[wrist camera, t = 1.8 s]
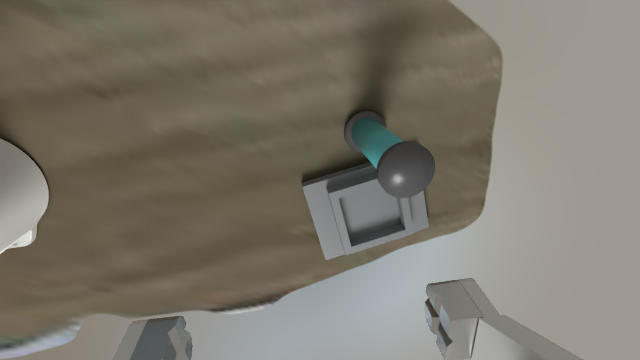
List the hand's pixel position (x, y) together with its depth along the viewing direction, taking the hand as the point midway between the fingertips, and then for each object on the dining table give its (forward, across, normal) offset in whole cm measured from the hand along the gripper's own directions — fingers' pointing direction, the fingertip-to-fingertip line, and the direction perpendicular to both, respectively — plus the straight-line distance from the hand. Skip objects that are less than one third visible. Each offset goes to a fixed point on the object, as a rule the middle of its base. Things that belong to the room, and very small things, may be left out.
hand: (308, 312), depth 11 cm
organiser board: (+38, +10, -19) cm, 43 cm away
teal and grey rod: (+38, +10, -7) cm, 40 cm away
